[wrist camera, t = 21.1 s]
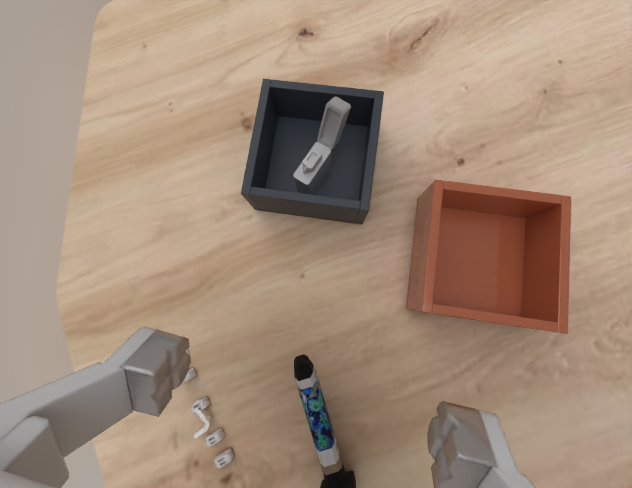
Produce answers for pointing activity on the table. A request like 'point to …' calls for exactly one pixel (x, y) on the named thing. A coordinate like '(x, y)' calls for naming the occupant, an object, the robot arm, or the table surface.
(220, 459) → the figurines set
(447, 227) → the terracotta bin
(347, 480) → the knife
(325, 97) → the grey bin
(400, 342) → the table surface
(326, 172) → the lighter
